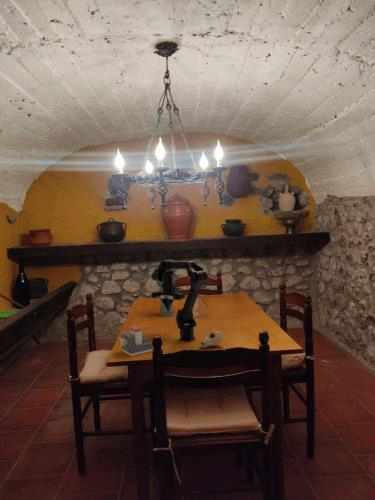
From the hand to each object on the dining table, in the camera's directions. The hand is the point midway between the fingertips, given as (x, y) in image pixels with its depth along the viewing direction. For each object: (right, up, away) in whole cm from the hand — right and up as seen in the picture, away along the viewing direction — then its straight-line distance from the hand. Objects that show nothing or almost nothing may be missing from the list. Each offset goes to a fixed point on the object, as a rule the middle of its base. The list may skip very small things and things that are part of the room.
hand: (168, 310), depth 227 cm
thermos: (-3, -10, +45) cm, 46 cm away
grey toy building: (-13, -15, -25) cm, 32 cm away
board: (-14, -16, -26) cm, 33 cm away
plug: (-17, -15, -28) cm, 36 cm away
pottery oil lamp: (+22, -14, -23) cm, 34 cm away
